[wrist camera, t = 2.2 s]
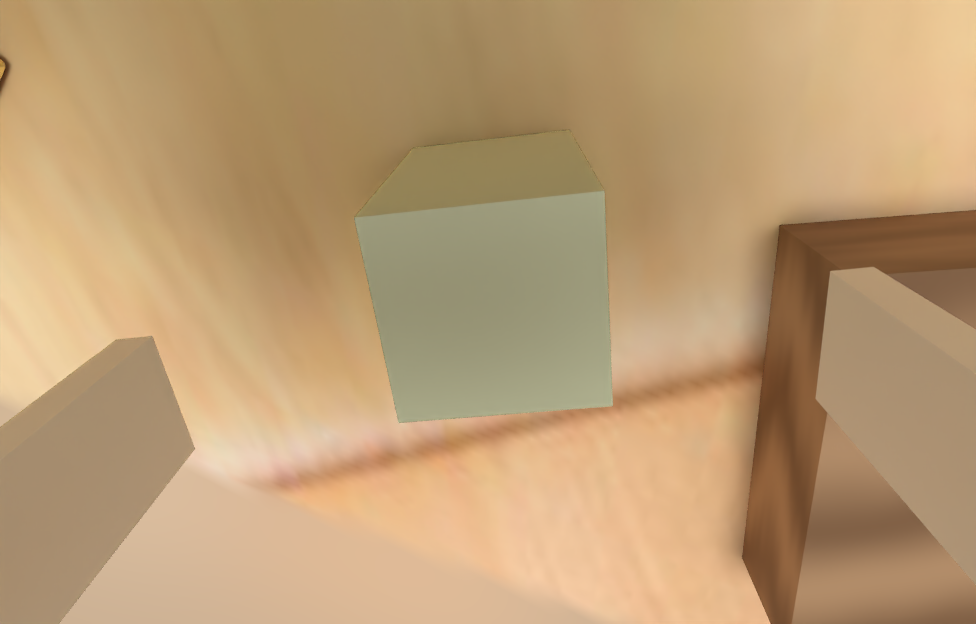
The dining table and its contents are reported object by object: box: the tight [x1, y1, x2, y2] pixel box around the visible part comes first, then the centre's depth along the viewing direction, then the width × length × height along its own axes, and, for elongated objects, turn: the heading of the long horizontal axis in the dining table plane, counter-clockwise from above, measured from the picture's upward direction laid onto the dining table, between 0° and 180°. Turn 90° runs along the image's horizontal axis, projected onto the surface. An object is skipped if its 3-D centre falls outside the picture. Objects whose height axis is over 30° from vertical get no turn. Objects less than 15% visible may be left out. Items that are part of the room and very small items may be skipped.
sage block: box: [354, 130, 613, 423], centre depth 17 cm, size 5×5×8 cm
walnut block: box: [742, 210, 976, 624], centre depth 21 cm, size 15×12×5 cm
